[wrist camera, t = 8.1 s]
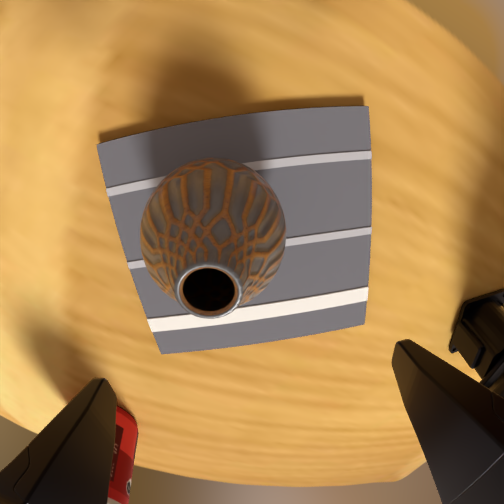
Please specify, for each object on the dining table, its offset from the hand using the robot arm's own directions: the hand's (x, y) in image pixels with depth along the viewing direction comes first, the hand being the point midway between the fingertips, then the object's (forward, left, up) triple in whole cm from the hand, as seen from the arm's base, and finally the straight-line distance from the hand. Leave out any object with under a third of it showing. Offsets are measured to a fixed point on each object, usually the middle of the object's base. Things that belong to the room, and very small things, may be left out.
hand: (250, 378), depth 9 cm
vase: (+1, -1, -12) cm, 12 cm away
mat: (-1, +1, -12) cm, 12 cm away
